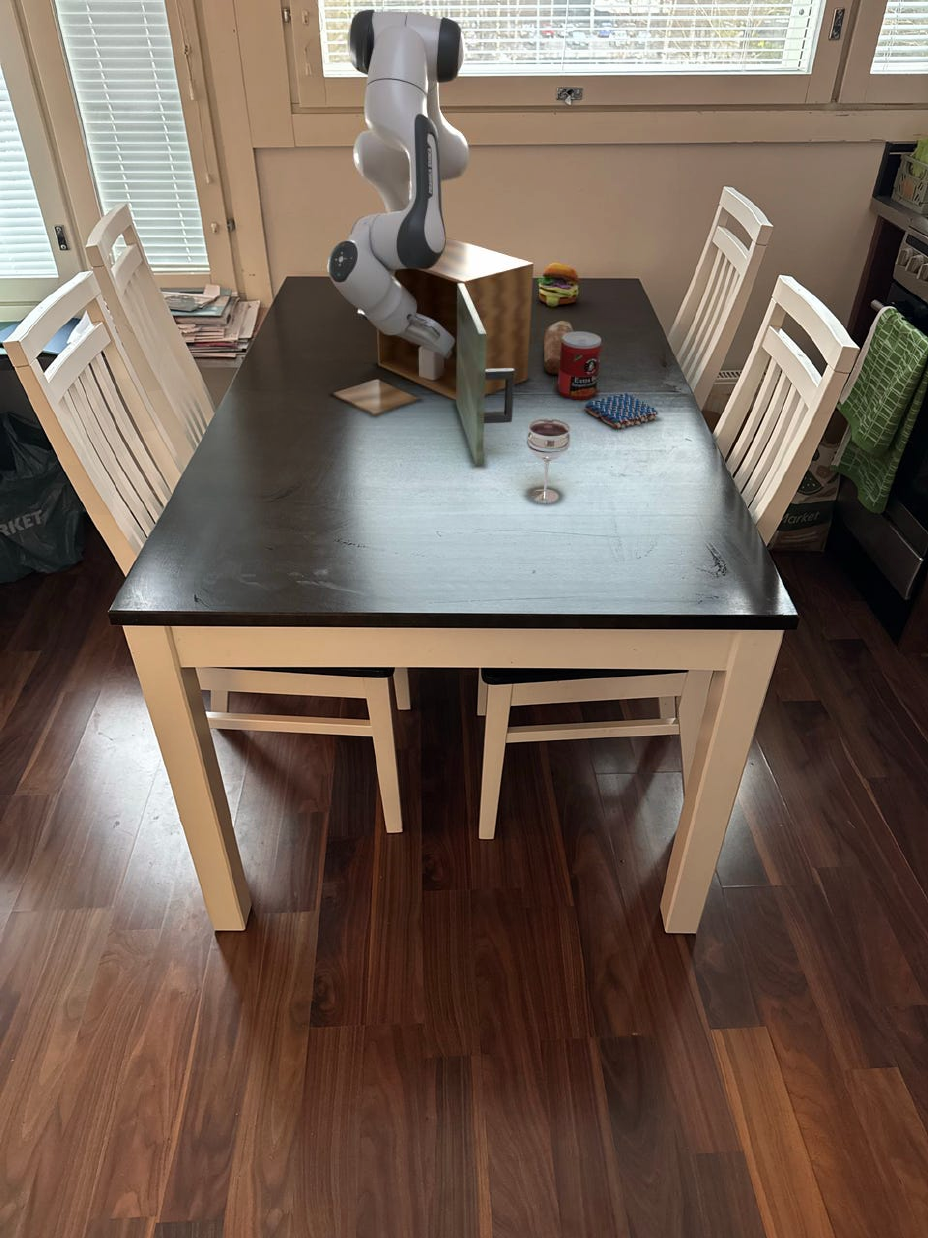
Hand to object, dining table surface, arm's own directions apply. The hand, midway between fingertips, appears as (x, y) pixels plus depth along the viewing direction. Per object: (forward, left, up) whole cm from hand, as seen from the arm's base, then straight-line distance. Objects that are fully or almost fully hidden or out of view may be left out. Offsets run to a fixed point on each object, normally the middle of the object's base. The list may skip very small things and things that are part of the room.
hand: (432, 348), depth 184 cm
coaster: (0, -15, -6) cm, 16 cm away
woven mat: (+37, +15, -7) cm, 41 cm away
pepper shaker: (0, 0, -6) cm, 6 cm away
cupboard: (0, +5, -6) cm, 8 cm away
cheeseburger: (-18, +57, -7) cm, 60 cm away
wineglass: (+49, -19, -7) cm, 53 cm away
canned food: (+24, +17, -7) cm, 30 cm away
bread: (+10, +27, -7) cm, 30 cm away
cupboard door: (+25, -10, -6) cm, 28 cm away
